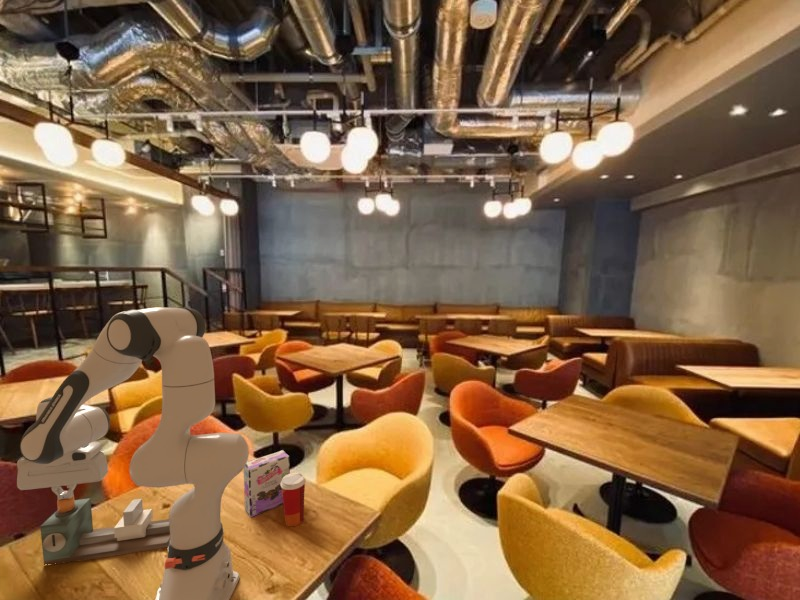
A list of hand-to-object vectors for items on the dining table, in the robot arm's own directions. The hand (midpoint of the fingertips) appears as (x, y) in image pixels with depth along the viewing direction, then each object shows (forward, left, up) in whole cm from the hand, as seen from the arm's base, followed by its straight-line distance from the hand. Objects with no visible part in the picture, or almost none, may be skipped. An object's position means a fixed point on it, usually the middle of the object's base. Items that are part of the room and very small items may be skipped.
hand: (65, 498), depth 105 cm
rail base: (0, -12, -15) cm, 19 cm away
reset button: (0, 0, -3) cm, 3 cm away
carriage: (0, -16, -13) cm, 21 cm away
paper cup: (-2, -62, -16) cm, 64 cm away
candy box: (+8, -53, -16) cm, 56 cm away
